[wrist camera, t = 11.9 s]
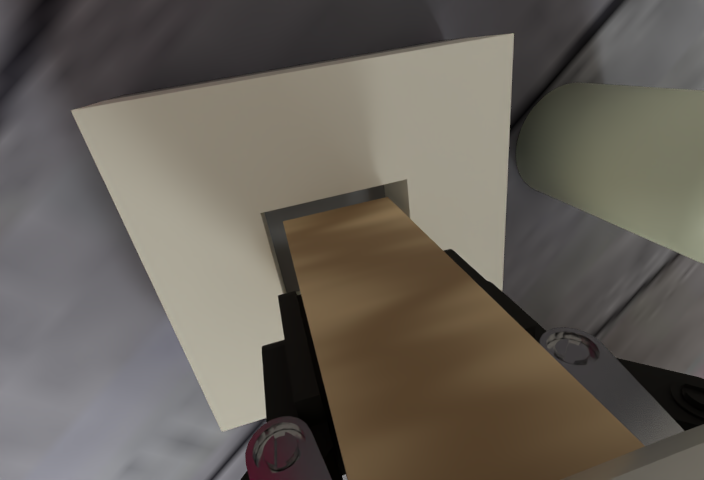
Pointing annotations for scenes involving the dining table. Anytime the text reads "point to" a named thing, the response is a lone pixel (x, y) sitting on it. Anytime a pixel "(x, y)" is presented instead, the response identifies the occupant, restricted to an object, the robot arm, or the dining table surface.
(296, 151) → the socket block
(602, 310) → the dining table surface
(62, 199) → the dining table surface
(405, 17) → the dining table surface
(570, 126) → the pale green rounded piece
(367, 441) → the square peg
